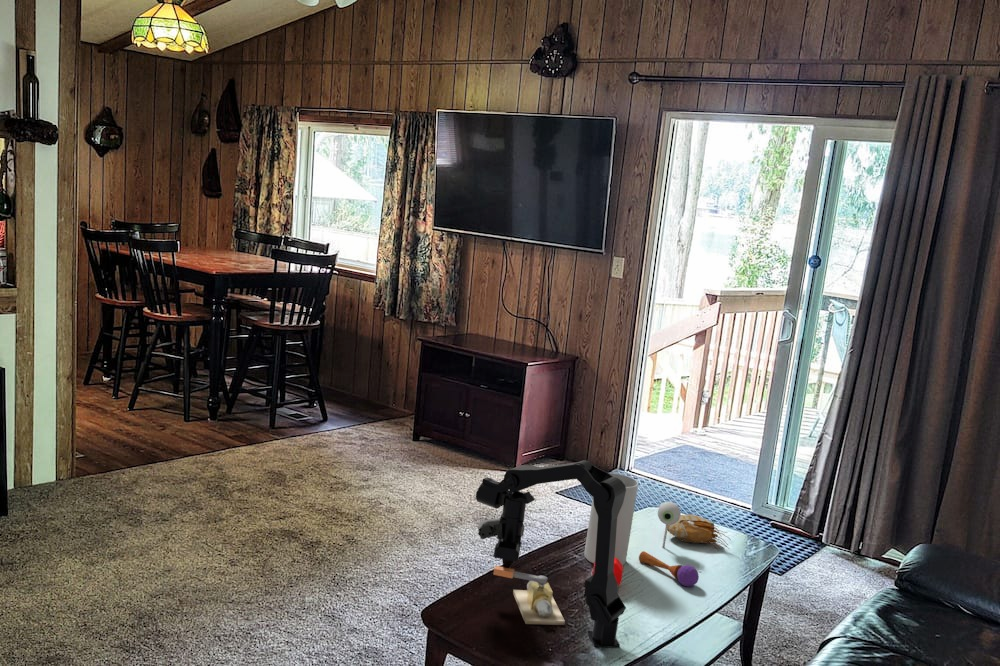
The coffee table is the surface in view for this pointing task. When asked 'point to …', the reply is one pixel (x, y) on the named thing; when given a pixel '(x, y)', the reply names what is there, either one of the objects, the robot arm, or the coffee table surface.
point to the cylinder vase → (622, 523)
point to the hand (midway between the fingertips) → (505, 570)
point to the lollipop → (668, 515)
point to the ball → (616, 570)
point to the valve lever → (518, 575)
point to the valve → (540, 598)
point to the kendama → (673, 569)
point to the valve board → (531, 615)
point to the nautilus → (695, 530)
